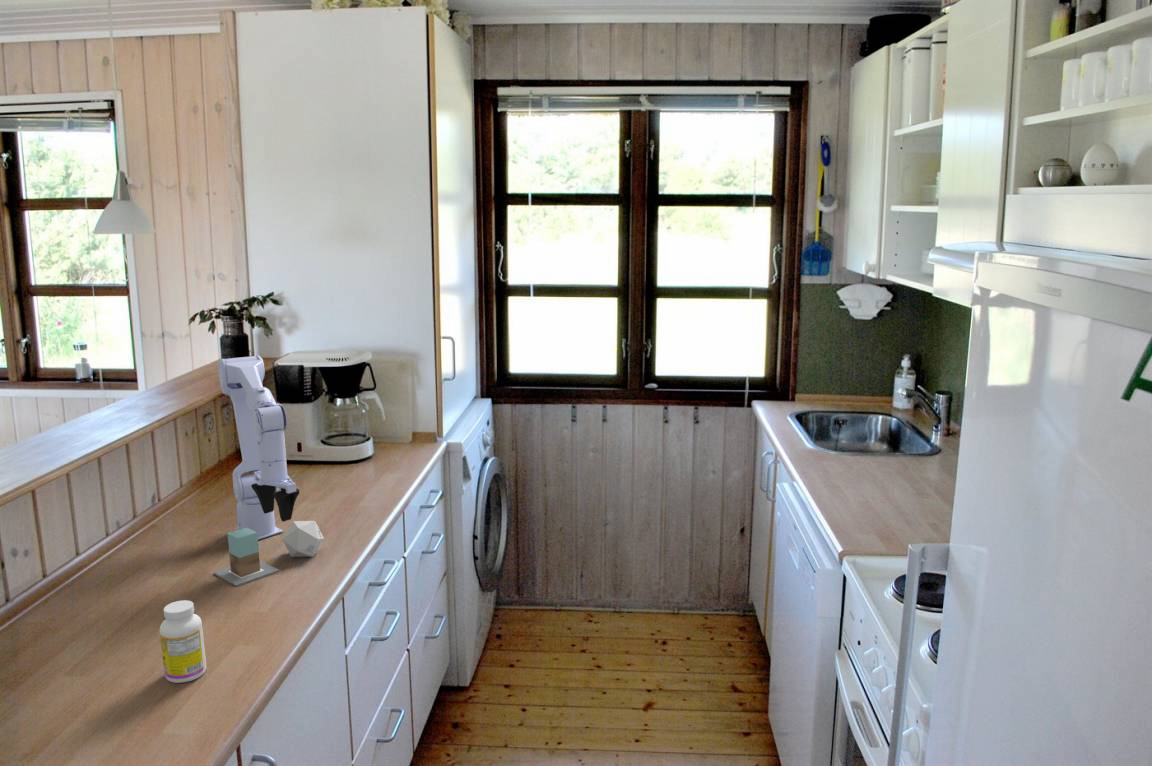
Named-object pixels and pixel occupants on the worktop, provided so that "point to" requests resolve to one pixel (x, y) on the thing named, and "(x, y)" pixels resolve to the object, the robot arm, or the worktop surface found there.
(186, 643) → the supplement bottle
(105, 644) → the worktop surface
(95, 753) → the worktop surface
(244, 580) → the grey square plate
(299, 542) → the die
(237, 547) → the teal block
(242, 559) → the walnut block
